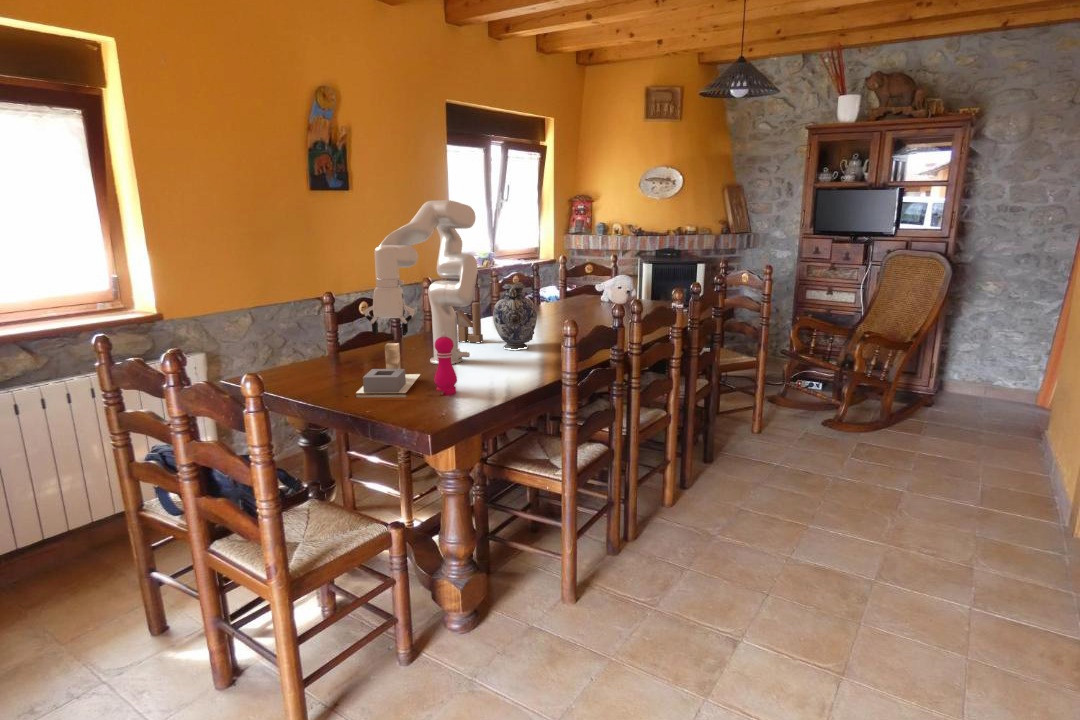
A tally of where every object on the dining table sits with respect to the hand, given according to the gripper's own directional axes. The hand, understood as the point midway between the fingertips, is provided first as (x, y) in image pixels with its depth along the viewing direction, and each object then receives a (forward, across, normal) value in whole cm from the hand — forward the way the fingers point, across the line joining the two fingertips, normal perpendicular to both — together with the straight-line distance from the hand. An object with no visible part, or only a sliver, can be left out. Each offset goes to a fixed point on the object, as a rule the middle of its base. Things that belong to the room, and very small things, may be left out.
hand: (390, 334), depth 218 cm
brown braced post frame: (+16, -18, -71) cm, 75 cm away
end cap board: (+17, 0, +5) cm, 18 cm away
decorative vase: (+16, -39, -58) cm, 72 cm away
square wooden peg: (+15, 0, -1) cm, 15 cm away
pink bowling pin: (+17, -20, +12) cm, 29 cm away
